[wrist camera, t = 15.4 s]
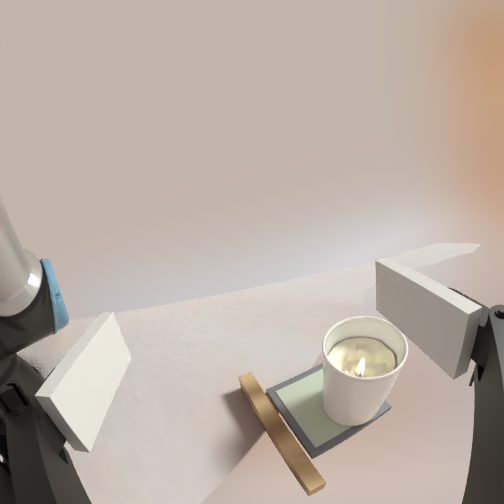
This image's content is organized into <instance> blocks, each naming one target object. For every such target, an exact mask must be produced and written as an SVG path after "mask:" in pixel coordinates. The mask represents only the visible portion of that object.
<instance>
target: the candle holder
mask: <svg viewBox="0 0 504 504" xmlns="http://www.w3.org/2000/svg"><path fill="white" fill-rule="evenodd" d="M322 352H323V393H322V401H323V408H324V411H325V413H326V414H327V416H328V417H329V418H330V419H331V420H333V421H334V422H336V423H338V424H340V425H344V426H358V425H362V424H364V423H366V422H368V421H370V420H371V419H372V418H373V417H374V416H375V415H376V414H377V413H378V411H379V410H380V408H381V406H382V404H383V403H384V401H385V399H386V397H387V395H388V394H389V392H390V390H391V388H392V386H393V384H394V382H395V380H396V378H397V376H398V374H399V372H400V370H401V368H402V366H403V364H404V363H405V361H406V358H407V355H408V344H407V340H406V338H405V336H404V335H403V333H402V332H401V331H400V330H399V329H398V328H397V327H396V326H394V325H393V324H392V323H390V322H388V321H386V320H383V319H380V318H376V317H370V316H356V317H351V318H347V319H344V320H342V321H340V322H338V323H336V324H335V325H333V326H332V327H331V328H330V329H329V330H328V331H327V333H326V334H325V336H324V339H323V343H322Z"/></svg>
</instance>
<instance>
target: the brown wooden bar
mask: <svg viewBox="0 0 504 504" xmlns="http://www.w3.org/2000/svg"><path fill="white" fill-rule="evenodd" d="M239 381H240V385H241V388H242V390H243V392H244V394H245V396H246V397H247V399H248V401H249V403H250V404H251V406H252V408H253V410H254V411H255V413H256V415H257V417H258V418H259V420H260V422H261V423H262V425H263V427H264V428H265V430H266V432H267V433H268V435H269V437H270V438H271V440H272V442H273V443H274V445H275V446H276V448H277V450H278V451H279V453H280V454H281V456H282V457H283V459H284V461H285V462H286V464H287V465H288V466H289V468H290V470H291V471H292V473H293V474H294V476H295V477H296V479H297V480H298V482H299V483H300V485H301V486H302V487H303V489H304V490H305V492H306V493H307V495H308V496H310V495H312V494H313V493H315V492H317V491H319V490H321V489H323V488H324V486H325V484H326V482H325V481H324V479H323V478H322V477H321V475H320V474H319V473H318V471H317V470H316V468H315V467H314V466H313V464H312V463H311V462H310V460H309V459H308V457H307V456H306V454H305V453H304V452H303V450H302V449H301V447H300V446H299V444H298V443H297V442H296V440H295V439H294V437H293V436H292V434H291V433H290V431H289V430H288V429H287V427H286V425H285V424H284V422H283V421H282V419H281V418H280V416H279V415H278V413H277V412H276V410H275V409H274V407H273V406H272V404H271V403H270V401H269V399H268V398H267V396H266V395H265V393H264V392H263V390H262V388H261V387H260V385H259V384H258V382H257V380H256V379H255V377H254V376H253V374H252V372H249V373H247V374H244V375H242V376H239Z"/></svg>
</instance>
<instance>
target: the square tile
mask: <svg viewBox="0 0 504 504" xmlns="http://www.w3.org/2000/svg"><path fill="white" fill-rule="evenodd" d="M266 392H267V394H268V395H269V397H270V398H271V400H272V401H273V403H274V404H275V406H276V407H277V409H278V410H279V412H280V413H281V415H282V416H283V418H284V419H285V421H286V422H287V424H288V425H289V427H290V428H291V430H292V431H293V433H294V434H295V436H296V437H297V438H298V440H299V441H300V443H301V444H302V445H303V447H304V448H305V450H306V451H307V453H308V454H309V455H310V457H311V458H312V459H313V458H315V457H317V456H318V455H320V454H322V453H324V452H326V451H328V450H329V449H331V448H333V447H334V446H336V445H338V444H340V443H341V442H343V441H344V440H346V439H348V438H349V437H351V436H352V435H354V434H356V433H357V432H358V431H360V430H362V429H363V428H365V427H366V426H368V425H369V424H370V423H372V422H373V421H375V420H376V419H377V418H379V417H380V416H382V415H383V414H384V413H386V412H387V411H388V410H390V409H391V406H390V405H389V404H388V403H387V402H386V401H384V403H383V404H382V406H381V408H380V410H379V411H378V413H377V414H376V415H375V416H374V417H373V418H372V419H371V420H370V421H368V422H366V423H364V424H362V425H358V426H344V425H340V424H338V423H336V422H334V421H333V420H331V419H330V418H329V417H328V416H327V414H326V413H325V411H324V408H323V401H322V393H323V363H322V364H320V365H318V366H316V367H314V368H312V369H310V370H308V371H306V372H304V373H302V374H300V375H298V376H295V377H293V378H291V379H289V380H287V381H285V382H282V383H280V384H278V385H276V386H273V387H271V388H269V389H267V390H266Z"/></svg>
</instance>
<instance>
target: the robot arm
mask: <svg viewBox="0 0 504 504" xmlns="http://www.w3.org/2000/svg"><path fill="white" fill-rule="evenodd" d="M375 261H376V309H377V311H379V312H380V313H381V314H382V315H383V316H384V317H386V318H387V319H388V320H389V321H390V322H391V323H392V324H393V325H394V326H396V327H397V328H398V329H399V330H400V331H401V332H402V333H404V334H405V335H406V336H407V337H408V338H409V339H410V340H411V341H412V342H413V343H414V344H415V345H417V346H418V347H419V348H420V349H421V350H422V351H423V352H424V353H425V354H426V355H428V356H429V357H430V358H431V359H432V360H433V361H434V362H435V363H436V364H437V365H438V366H439V367H440V368H442V370H443V371H445V372H446V373H447V374H448V375H449V376H450V377H451V378H452V379H453V380H454V379H455V378H457V377H459V376H461V375H462V374H464V373H465V372H467V370H468V366H469V363H470V360H471V359H472V360H474V361H475V362H476V365H475V368H474V371H473V375H472V378H471V381H470V384H469V386H472V383H473V381H474V383H475V409H474V411H475V412H474V430H473V442H472V451H471V459H470V466H469V473H468V478H467V484H466V489H465V493H464V497H463V502H462V504H504V305H495V306H493V307H491V308H490V309H489V308H488V307H486V306H484V305H482V304H480V303H479V302H477V301H475V300H473V299H471V298H469V297H468V296H466V295H463V294H462V293H461V292H459V291H457V290H455V289H451V288H448V287H445V286H443V285H441V284H439V283H438V282H436V281H434V280H432V279H430V278H428V277H426V276H424V275H422V274H420V273H418V272H417V271H414V270H413V269H411V268H409V267H407V266H405V265H403V264H401V263H399V262H397V261H395V260H393V259H391V258H389V257H387V258H383V259H379V260H375ZM68 321H69V316H68V313H67V310H66V307H65V305H64V302H63V299H62V296H61V294H60V291H59V287H58V284H57V281H56V278H55V275H54V272H53V269H52V266H51V262H50V261H49V260H48V259H44V260H43V259H41V260H38V258H37V257H36V255H35V254H34V253H32V252H31V251H29V250H25V249H23V248H22V246H21V244H20V242H19V240H18V238H17V236H16V234H15V232H14V229H13V227H12V225H11V223H10V220H9V218H8V215H7V213H6V210H5V208H4V205H3V203H2V200H1V197H0V455H1V456H2V457H3V458H4V459H3V463H2V462H1V461H0V504H92V503H91V501H90V500H89V498H88V496H87V494H86V492H85V490H84V488H83V485H82V483H81V481H80V479H79V477H78V475H77V472H76V470H75V468H74V465H73V463H72V460H71V458H70V455H69V453H68V451H67V450H66V449H65V447H64V444H65V442H66V440H67V441H68V443H69V444H70V445H71V446H72V447H73V449H74V450H77V451H83V452H91V449H92V447H93V444H94V442H95V439H96V437H97V434H98V432H99V430H100V427H101V425H102V422H103V420H104V418H105V415H106V413H107V411H108V408H109V406H110V404H111V402H112V399H113V397H114V395H115V393H116V390H117V388H118V386H119V384H120V382H121V379H122V377H123V375H124V373H125V371H126V369H127V367H128V364H129V362H130V360H131V358H132V357H131V355H130V353H129V350H128V348H127V345H126V343H125V341H124V338H123V336H122V333H121V331H120V328H119V325H118V323H117V320H116V317H115V315H114V312H106V313H101V314H100V315H99V316H98V317H97V318H96V319H95V321H94V322H93V323H92V324H91V325H90V326H89V328H88V329H87V330H86V331H85V332H84V333H83V335H82V336H81V337H80V338H79V339H78V341H77V342H76V343H75V344H74V345H73V347H72V348H71V349H70V350H69V352H68V353H67V354H66V355H65V357H64V358H63V359H62V360H61V362H60V363H59V364H58V365H57V367H55V368H54V369H53V370H52V371H51V373H50V374H49V375H48V378H46V379H44V378H43V376H42V375H41V374H40V372H39V371H38V370H37V369H35V368H34V367H32V366H30V365H29V364H28V363H27V362H26V361H25V360H23V359H22V358H21V357H19V356H18V355H17V353H16V352H18V351H20V350H22V349H24V348H26V347H28V346H30V345H31V344H33V343H35V342H37V341H39V340H41V339H43V338H45V337H47V336H49V335H51V334H55V333H56V332H57V331H58V330H60V329H62V328H63V327H65V326H66V325H67V324H68Z"/></svg>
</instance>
